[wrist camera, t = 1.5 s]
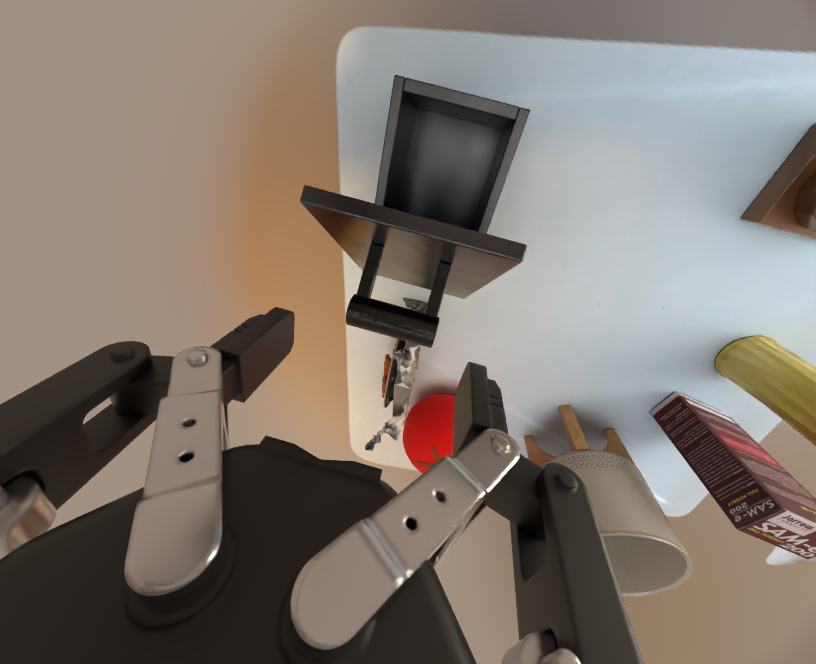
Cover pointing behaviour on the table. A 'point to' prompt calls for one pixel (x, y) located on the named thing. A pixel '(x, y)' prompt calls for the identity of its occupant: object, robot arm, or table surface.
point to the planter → (622, 512)
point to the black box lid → (408, 260)
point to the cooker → (447, 153)
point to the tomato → (429, 431)
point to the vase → (773, 380)
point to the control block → (790, 193)
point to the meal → (399, 380)
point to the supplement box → (740, 475)
